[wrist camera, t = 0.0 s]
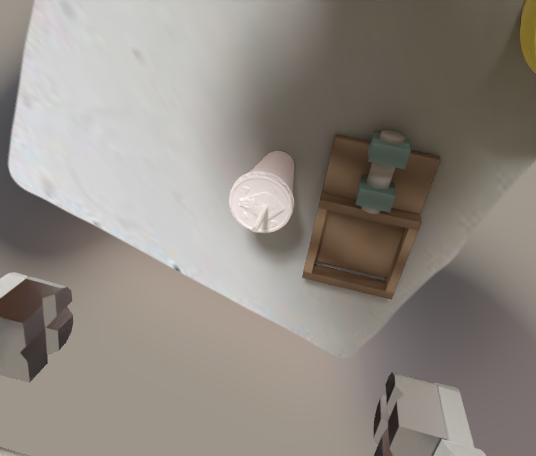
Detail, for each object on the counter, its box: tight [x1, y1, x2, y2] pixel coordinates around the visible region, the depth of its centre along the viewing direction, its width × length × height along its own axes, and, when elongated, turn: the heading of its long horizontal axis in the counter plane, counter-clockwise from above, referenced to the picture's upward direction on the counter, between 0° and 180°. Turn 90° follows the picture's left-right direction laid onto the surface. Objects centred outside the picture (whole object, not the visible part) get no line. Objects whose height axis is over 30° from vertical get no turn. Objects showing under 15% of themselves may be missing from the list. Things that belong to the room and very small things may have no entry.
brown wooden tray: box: [302, 130, 440, 299], centre depth 49 cm, size 20×11×4 cm, turn 172°
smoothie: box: [229, 151, 295, 233], centre depth 45 cm, size 6×6×14 cm
